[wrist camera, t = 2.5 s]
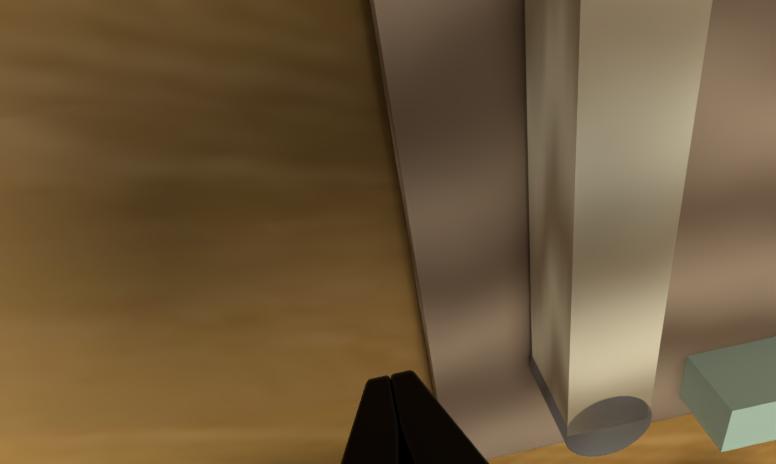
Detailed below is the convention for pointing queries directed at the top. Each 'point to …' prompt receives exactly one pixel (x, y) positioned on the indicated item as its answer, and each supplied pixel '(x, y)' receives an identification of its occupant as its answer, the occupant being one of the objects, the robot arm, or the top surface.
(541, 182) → the fold-out leg
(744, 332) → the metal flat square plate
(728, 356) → the block
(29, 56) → the top surface
